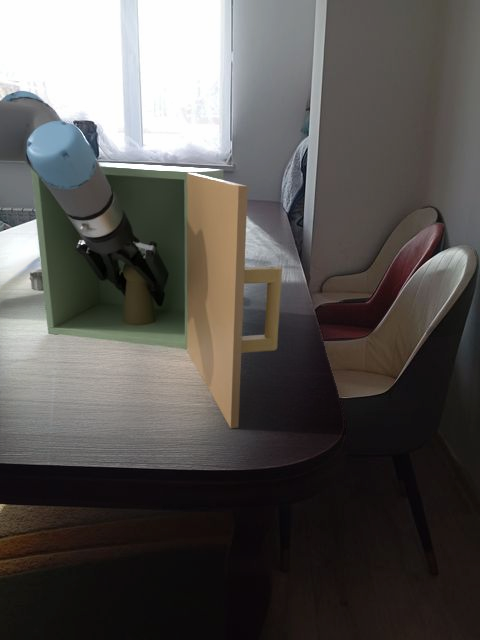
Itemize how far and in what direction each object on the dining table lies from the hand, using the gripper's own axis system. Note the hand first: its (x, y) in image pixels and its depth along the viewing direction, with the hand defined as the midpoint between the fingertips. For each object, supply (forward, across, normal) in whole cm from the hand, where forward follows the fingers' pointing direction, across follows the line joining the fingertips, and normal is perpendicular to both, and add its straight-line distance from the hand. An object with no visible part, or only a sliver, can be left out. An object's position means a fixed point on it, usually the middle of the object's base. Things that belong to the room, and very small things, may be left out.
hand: (146, 298), depth 98 cm
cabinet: (+1, 0, -6) cm, 6 cm away
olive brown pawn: (0, 0, -5) cm, 5 cm away
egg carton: (+15, -30, +9) cm, 35 cm away
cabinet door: (-14, +22, -20) cm, 33 cm away
